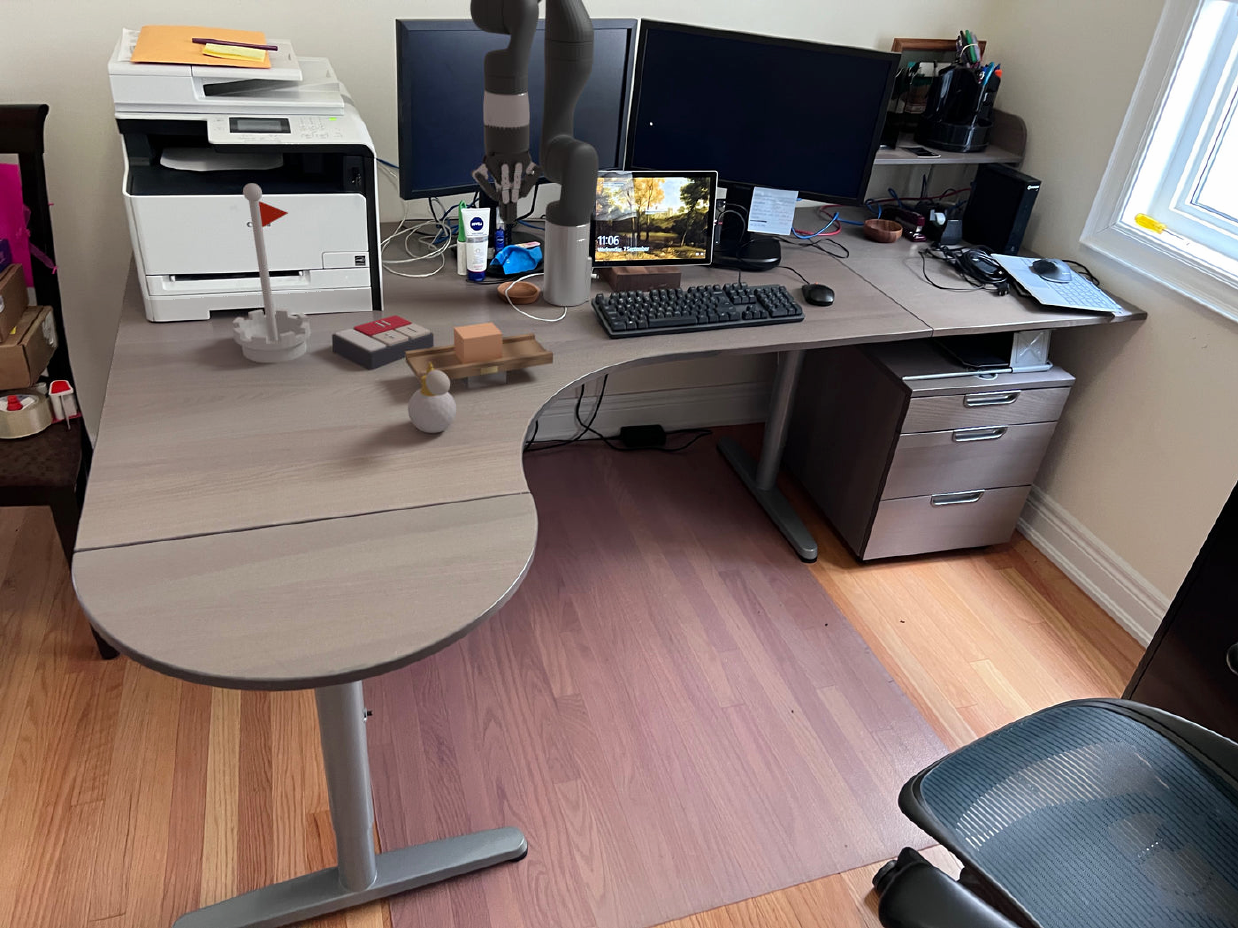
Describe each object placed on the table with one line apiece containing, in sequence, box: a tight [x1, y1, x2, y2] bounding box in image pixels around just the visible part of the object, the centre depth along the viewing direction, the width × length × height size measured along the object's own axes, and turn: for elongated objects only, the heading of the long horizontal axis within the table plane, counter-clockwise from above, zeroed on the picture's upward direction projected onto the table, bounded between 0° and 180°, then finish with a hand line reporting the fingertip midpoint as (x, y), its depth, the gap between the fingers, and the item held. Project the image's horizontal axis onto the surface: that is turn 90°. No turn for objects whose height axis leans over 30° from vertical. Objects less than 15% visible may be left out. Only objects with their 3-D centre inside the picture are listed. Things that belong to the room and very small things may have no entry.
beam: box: [405, 332, 554, 390], centre depth 160 cm, size 24×9×5 cm, turn 118°
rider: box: [453, 322, 503, 364], centre depth 157 cm, size 7×5×5 cm
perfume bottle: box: [407, 362, 457, 434], centre depth 141 cm, size 8×10×12 cm
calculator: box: [331, 315, 435, 371], centre depth 167 cm, size 11×4×15 cm
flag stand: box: [232, 182, 312, 364], centre depth 157 cm, size 13×13×30 cm
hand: (508, 222), depth 159 cm, fingers closed
